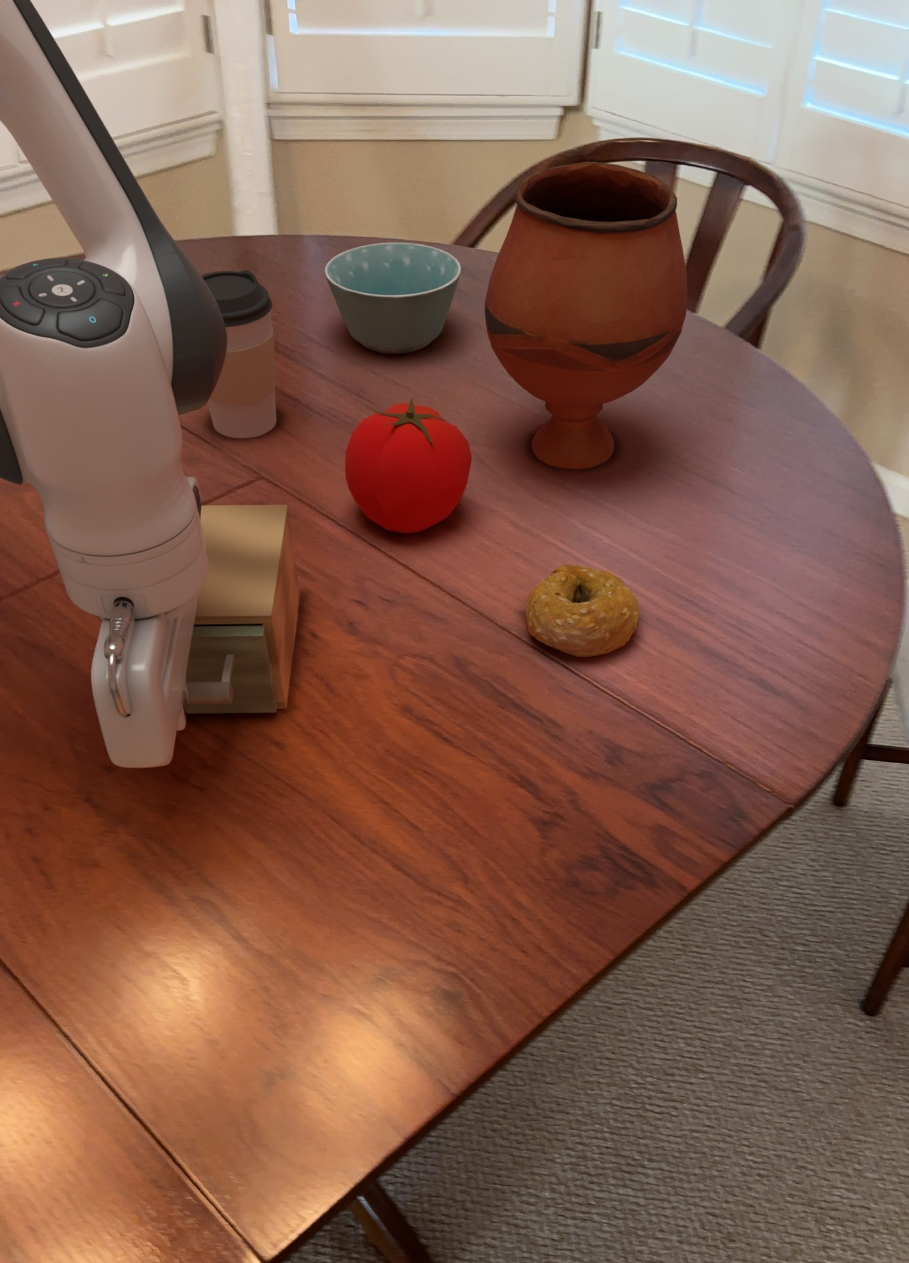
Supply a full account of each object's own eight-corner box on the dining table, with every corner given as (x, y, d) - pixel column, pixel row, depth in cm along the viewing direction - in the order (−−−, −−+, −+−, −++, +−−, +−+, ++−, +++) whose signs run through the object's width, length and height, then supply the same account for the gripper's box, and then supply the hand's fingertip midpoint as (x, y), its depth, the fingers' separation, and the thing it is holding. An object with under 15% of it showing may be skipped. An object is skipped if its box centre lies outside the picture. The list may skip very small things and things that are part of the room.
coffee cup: (227, 454, 111) (202, 309, 100) (188, 418, 116) (159, 276, 105) (302, 428, 115) (286, 285, 104) (261, 394, 120) (241, 254, 108)
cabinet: (286, 710, 86) (271, 615, 78) (129, 712, 86) (99, 617, 78) (300, 598, 95) (287, 504, 88) (159, 599, 95) (135, 505, 88)
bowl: (338, 308, 134) (332, 238, 128) (462, 310, 134) (463, 240, 128) (323, 367, 124) (316, 294, 118) (458, 370, 124) (458, 297, 117)
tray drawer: (270, 756, 81) (256, 679, 75) (120, 758, 81) (94, 681, 75) (290, 606, 93) (279, 529, 87) (159, 607, 93) (139, 531, 87)
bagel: (652, 602, 95) (660, 557, 91) (617, 678, 88) (624, 633, 85) (546, 576, 97) (550, 532, 94) (505, 649, 91) (507, 604, 87)
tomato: (344, 550, 100) (334, 441, 92) (352, 483, 108) (344, 377, 99) (471, 551, 100) (472, 442, 92) (471, 484, 108) (472, 377, 99)
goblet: (504, 510, 105) (515, 240, 86) (465, 413, 117) (467, 159, 98) (689, 489, 107) (740, 223, 88) (632, 396, 120) (665, 145, 101)
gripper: (163, 663, 59) (206, 826, 69) (200, 464, 72) (231, 625, 83) (47, 667, 58) (108, 830, 69) (106, 467, 72) (149, 628, 82)
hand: (175, 717), depth 76 cm, fingers closed
